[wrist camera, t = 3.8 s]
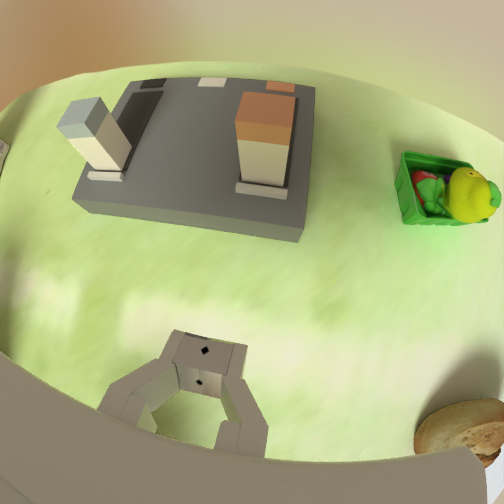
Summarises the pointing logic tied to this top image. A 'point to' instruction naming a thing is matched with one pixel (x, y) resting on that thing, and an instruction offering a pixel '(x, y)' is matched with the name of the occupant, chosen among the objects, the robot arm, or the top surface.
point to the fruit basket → (443, 191)
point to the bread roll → (464, 429)
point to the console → (200, 160)
